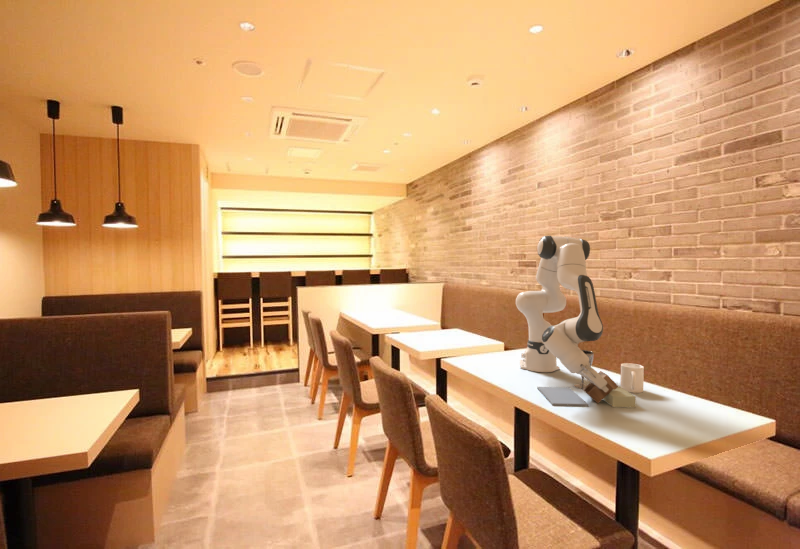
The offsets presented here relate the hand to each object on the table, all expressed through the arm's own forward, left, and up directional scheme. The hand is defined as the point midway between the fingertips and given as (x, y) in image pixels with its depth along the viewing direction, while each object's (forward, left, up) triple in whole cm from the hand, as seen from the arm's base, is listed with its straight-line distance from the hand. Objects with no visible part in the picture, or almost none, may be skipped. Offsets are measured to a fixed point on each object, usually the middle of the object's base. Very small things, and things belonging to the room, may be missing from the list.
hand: (602, 387), depth 154 cm
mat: (-4, -14, -5) cm, 16 cm away
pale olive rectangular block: (0, +5, -5) cm, 7 cm away
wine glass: (-18, -1, -5) cm, 19 cm away
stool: (0, -1, -5) cm, 5 cm away
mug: (-13, +17, -5) cm, 22 cm away
